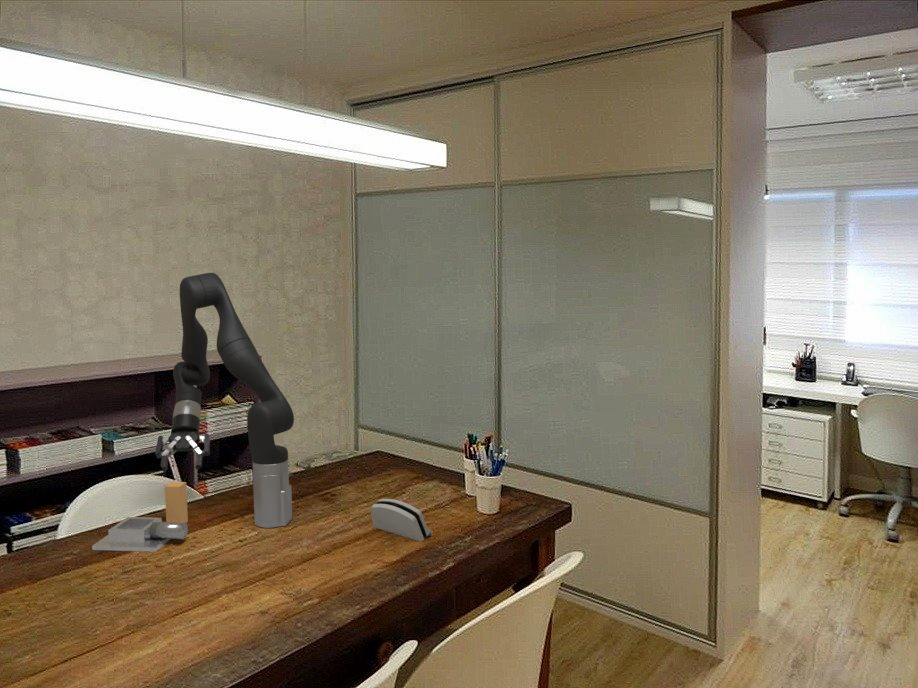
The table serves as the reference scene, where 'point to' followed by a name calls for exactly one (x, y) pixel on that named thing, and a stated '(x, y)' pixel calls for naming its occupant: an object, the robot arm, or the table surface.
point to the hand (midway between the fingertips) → (181, 469)
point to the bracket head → (141, 534)
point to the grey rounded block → (399, 519)
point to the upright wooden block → (176, 502)
